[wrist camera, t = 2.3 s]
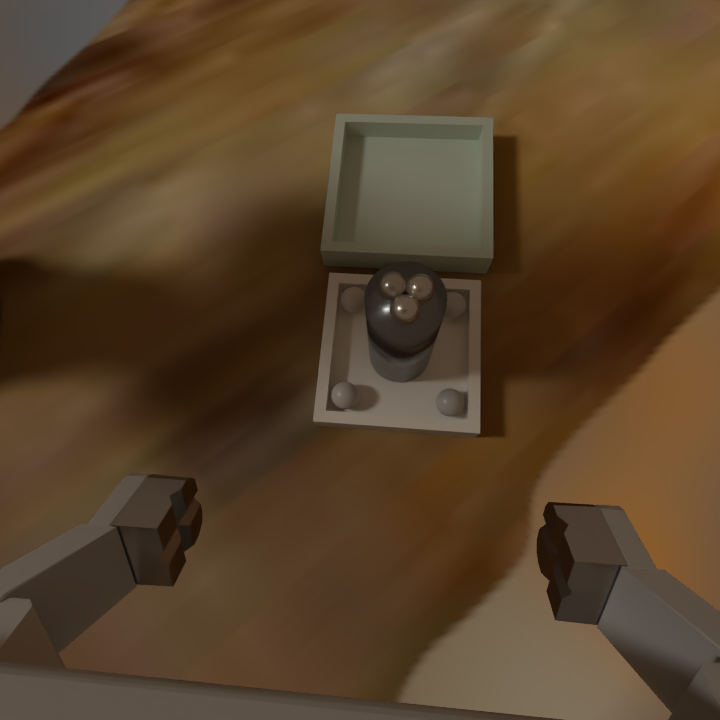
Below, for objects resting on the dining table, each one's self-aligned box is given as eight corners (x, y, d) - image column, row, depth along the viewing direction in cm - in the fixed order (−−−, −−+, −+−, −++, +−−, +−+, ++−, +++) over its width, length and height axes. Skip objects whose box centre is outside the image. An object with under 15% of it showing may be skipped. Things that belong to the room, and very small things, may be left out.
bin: (324, 265, 46) (320, 250, 43) (339, 135, 51) (336, 113, 48) (486, 273, 45) (493, 258, 42) (486, 139, 50) (493, 117, 47)
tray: (317, 425, 41) (311, 419, 38) (332, 284, 45) (328, 268, 42) (474, 437, 41) (482, 431, 37) (475, 291, 44) (483, 275, 41)
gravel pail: (367, 380, 41) (360, 327, 29) (371, 323, 43) (366, 248, 30) (428, 384, 41) (449, 332, 28) (431, 326, 43) (451, 252, 30)
